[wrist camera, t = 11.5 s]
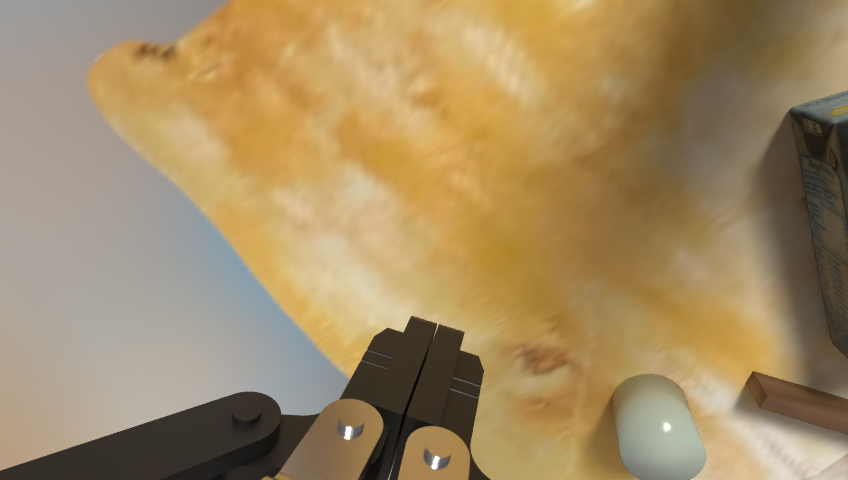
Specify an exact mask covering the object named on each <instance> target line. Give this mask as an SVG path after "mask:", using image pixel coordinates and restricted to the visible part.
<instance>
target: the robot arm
mask: <svg viewBox="0 0 848 480" xmlns="http://www.w3.org/2000/svg"><path fill="white" fill-rule="evenodd" d="M436 327H437V323H433V322H430V321H427V320H424V319H420V318H417V317H414V316H411V318H410V320H409V322H408V324H407V326H406V328H405V331H404V333H403V332H399V331H396V330H393V329H390V328H387V329H385V330H383V331H382V332H380V333H379V334H377V335H376V336H374V338H373V340H372V341H371V343H370V345H369V347H368V349H367V351H366V352H365V354H364V356H363V358H362V360H361V361H360V363H359V365H358V367H357V369H356V370H355V372H354V374H353V376H352V378H351V379H350V381H349V383H348V385H347V387H346V389H345V390H344V392H343V394H342V396H341V398H340V399H339V400H338V401H335V402H333V403H331V404H329V405H328V406H326V407H325V408H324V410H323V411H322V412H321V413H319V414H316V415H308V416H298V415H281V410H280V407H279V405H278V404H277V403H276V401H275V400H273V399H272V398H271V397H269V396H267V395H265V394H262V393H258V392H240V393H236V394H233V395H230V396H227V397H224V398H221V399H218V400H214V401H211V402H209V403H206V404H202V405H199V406H196V407H193V408H190V409H187V410H184V411H181V412H178V413H175V414H172V415H169V416H166V417H163V418H160V419H157V420H153V421H151V422H147V423H144V424H141V425H138V426H135V427H132V428H129V429H126V430H123V431H120V432H117V433H114V434H111V435H108V436H105V437H102V438H99V439H96V440H93V441H90V442H87V443H84V444H80V445H77V446H74V447H71V448H68V449H65V450H62V451H59V452H56V453H53V454H50V455H47V456H44V457H41V458H38V459H35V460H32V461H29V462H26V463H23V464H20V465H17V466H13V467H10V468H7V469H4V470H1V471H0V480H387V479H388V476H389V474H390V471H391V468H392V465H393V468H392V472H391V476H390V480H490V479H489V478H488V477H487V476H485V475H484V474H483V473H482V472H481V470H480V469H479V468H478V467H477V465H476V463H475V462H474V460H473V457H472V454H471V449H470V443H471V437H472V432H473V426H474V421H475V416H476V410H477V405H478V400H479V394H480V389H481V384H482V378H483V373H484V370H483V367H482V364H481V362H480V359H479V356H476V355H473V354H470V353H467V352H464V351H460V347H461V344H462V340H463V336H464V333H465V332H463V331H460V330H456V329H453V328H450V327H447V326H443V325H440V324H439V326H438V329H437V331H436ZM435 331H436V334H435ZM434 335H435V337H434ZM433 338H434V340H433ZM393 462H394V464H393Z"/></svg>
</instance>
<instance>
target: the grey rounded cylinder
mask: <svg viewBox="0 0 848 480" xmlns="http://www.w3.org/2000/svg"><path fill="white" fill-rule="evenodd" d="M612 406H613V412H614V418H615V425H616V431H617V437H618V443H619V449H620V455H621V460H622V463H623V465H624V466H625V468H626V469H627V470H628V471H629V472H630V473H631V474H632V475H633V476H635V477H637V478H638V479H640V480H690V479H692V478H693V477H695V476H696V475H697V474H698V473H699V472H700V471H701V470H702V468H703V467H704V464H705V461H706V452H705V449H704V446H703V443H702V440H701V438H700V435H699V432H698V429H697V426H696V424H695V421H694V418H693V415H692V413H691V410H690V407H689V404H688V402H687V399H686V396H685V394H684V392H683V390H682V389H681V388H680V386H679V385H677V384H676V383H675V382H674V381H672V380H670V379H668V378H666V377H663V376H659V375H653V374H644V375H637V376H634V377H631V378H629V379H627V380H625V381H624V382H622V383H621V384H620V385H619V386H618V387H617V388H616V390H615V391H614V394H613V397H612Z"/></svg>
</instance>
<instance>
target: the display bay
mask: <svg viewBox="0 0 848 480" xmlns="http://www.w3.org/2000/svg"><path fill="white" fill-rule="evenodd" d="M746 383H747V385H748V387H749V389H750V390H751V392H752V394H753V396H754V398H755V400H756V402H757V403H758V405H759V407H760V408H762V409H765V410H768V411H772V412H775V413H778V414H782V415H785V416H788V417H791V418H795V419H798V420H801V421H804V422H808V423H811V424H814V425H818V426H821V427H824V428H827V429H831V430H834V431H837V432H840V433H844V434H847V435H848V399H845V398H841V397H838V396H835V395H831V394H828V393H825V392H821V391H818V390H815V389H811V388H808V387H805V386H801V385H798V384H794V383H791V382H788V381H784V380H781V379H778V378H774V377H771V376H768V375H764V374H761V373H758V372H754V371H753V373H752V374H751V376H750V377H749V379H748V381H747V382H746Z"/></svg>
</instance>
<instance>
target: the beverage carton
mask: <svg viewBox="0 0 848 480" xmlns="http://www.w3.org/2000/svg"><path fill="white" fill-rule="evenodd" d="M790 113H791V118H792V124H793V131H794V136H795V140H796V145H797V150H798V156H799V161H800V167H801V174H802V180H803V186H804V191H805V196H806V202H807V208H808V213H809V219H810V224H811V230H812V236H813V243H814V249H815V255H816V260H817V265H818V271H819V277H820V282H821V288H822V293H823V298H824V303H825V308H826V313H827V318H828V322H829V328H830V332H831V335H832V343H833V344H834V345H835V346H836V347H837V348H838V349H839V350H840V351H841V352H842V353H843V354H844V355H845V356H846V357H847V358H848V91H845V92H841V93H838V94H834V95H831V96H828V97H825V98H822V99H818V100H814V101H811V102H808V103H805V104H802V105H799V106H796V107H793V108H792V109H791V110H790Z"/></svg>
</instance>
